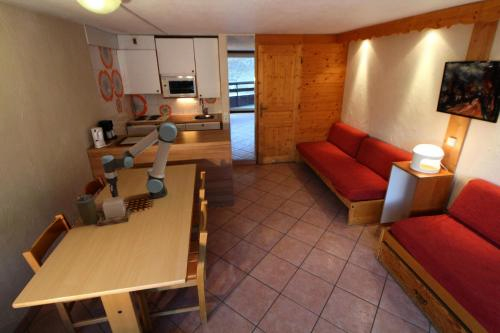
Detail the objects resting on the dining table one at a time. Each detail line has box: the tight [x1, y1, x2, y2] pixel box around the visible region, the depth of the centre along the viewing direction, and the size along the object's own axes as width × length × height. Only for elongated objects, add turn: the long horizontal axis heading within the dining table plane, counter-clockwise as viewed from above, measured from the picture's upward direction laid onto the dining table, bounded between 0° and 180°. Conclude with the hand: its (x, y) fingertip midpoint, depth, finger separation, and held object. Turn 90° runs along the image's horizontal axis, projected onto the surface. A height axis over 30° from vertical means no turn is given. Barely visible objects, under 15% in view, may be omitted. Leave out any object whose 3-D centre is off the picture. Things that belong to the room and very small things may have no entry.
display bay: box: [96, 207, 131, 227], centre depth 176 cm, size 18×14×3 cm
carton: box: [102, 195, 127, 220], centre depth 180 cm, size 12×10×11 cm
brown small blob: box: [95, 200, 104, 213], centre depth 186 cm, size 6×6×6 cm
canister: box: [75, 193, 100, 226], centre depth 170 cm, size 11×10×20 cm
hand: (117, 205), depth 189 cm, fingers closed
